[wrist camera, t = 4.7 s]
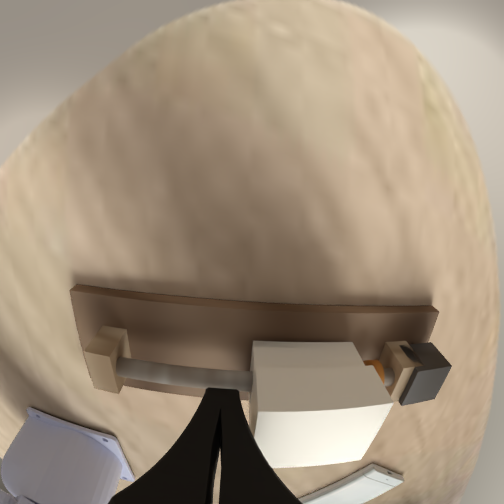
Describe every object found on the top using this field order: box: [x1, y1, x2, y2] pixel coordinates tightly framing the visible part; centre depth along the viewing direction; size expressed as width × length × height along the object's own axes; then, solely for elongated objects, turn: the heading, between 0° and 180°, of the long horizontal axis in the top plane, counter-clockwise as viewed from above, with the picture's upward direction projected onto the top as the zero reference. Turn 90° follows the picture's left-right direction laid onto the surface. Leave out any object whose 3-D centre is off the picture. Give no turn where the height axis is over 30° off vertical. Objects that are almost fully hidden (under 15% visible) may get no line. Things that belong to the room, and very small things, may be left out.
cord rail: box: [70, 284, 452, 406], centre depth 13 cm, size 20×6×4 cm, turn 85°
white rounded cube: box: [249, 341, 394, 468], centre depth 12 cm, size 5×4×5 cm
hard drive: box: [298, 463, 404, 504], centre depth 21 cm, size 2×8×12 cm
